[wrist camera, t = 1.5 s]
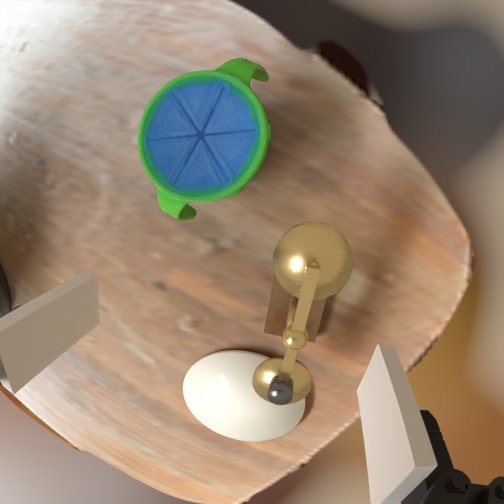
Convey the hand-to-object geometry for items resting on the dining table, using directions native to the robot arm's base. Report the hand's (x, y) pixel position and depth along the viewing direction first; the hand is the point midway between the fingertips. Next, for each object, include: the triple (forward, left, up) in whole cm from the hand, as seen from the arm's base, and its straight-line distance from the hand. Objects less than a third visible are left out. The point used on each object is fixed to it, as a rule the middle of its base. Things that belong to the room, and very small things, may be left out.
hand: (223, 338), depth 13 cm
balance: (+4, -6, -21) cm, 22 cm away
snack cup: (-6, +9, -21) cm, 24 cm away
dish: (0, -23, -21) cm, 31 cm away
